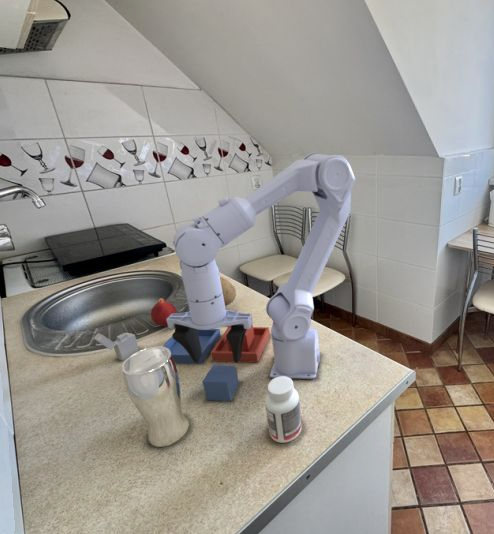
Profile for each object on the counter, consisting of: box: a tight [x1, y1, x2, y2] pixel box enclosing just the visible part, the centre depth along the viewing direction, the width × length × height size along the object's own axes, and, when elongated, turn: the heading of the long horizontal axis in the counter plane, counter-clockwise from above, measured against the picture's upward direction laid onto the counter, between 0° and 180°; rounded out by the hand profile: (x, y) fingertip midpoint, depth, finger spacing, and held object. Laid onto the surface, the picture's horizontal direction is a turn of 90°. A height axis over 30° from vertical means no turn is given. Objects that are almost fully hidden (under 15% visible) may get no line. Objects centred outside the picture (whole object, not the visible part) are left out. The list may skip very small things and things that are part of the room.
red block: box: [226, 324, 255, 352], centre depth 74 cm, size 5×5×5 cm
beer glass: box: [121, 345, 190, 448], centre depth 51 cm, size 7×7×15 cm
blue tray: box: [162, 328, 222, 365], centre depth 75 cm, size 10×10×2 cm
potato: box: [220, 276, 237, 308], centre depth 90 cm, size 9×9×10 cm
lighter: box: [92, 332, 140, 361], centre depth 71 cm, size 7×2×8 cm, turn 154°
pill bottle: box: [264, 376, 302, 444], centre depth 52 cm, size 5×5×10 cm
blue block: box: [202, 364, 240, 402], centre depth 61 cm, size 5×5×5 cm
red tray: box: [210, 326, 271, 363], centre depth 75 cm, size 10×10×2 cm
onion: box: [150, 298, 178, 328], centre depth 83 cm, size 6×6×8 cm
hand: (218, 358), depth 60 cm, fingers open, 7 cm apart
